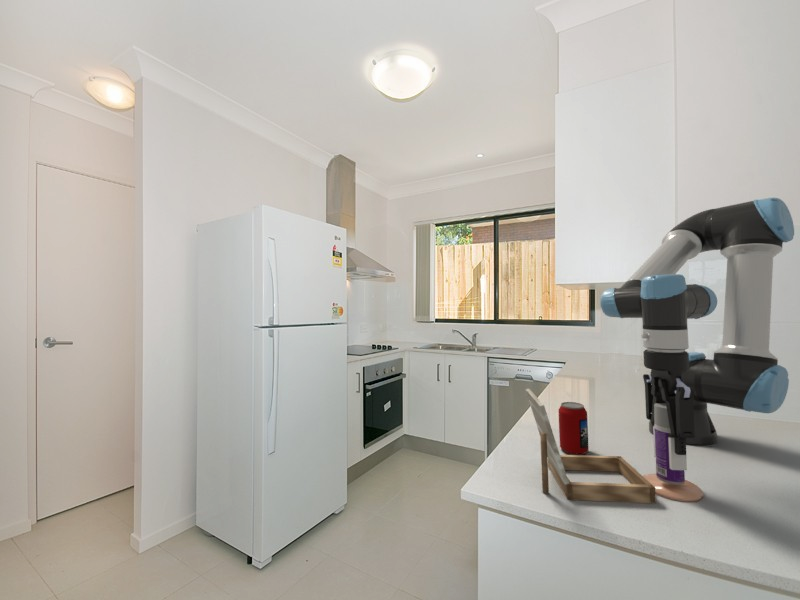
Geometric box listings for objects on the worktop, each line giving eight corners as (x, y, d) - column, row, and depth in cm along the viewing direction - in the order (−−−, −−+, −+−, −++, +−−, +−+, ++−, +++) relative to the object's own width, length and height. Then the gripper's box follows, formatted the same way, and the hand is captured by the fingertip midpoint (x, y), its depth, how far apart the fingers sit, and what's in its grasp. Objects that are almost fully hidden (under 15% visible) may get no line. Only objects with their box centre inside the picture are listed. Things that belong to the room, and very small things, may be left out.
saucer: (682, 477, 78) (682, 474, 78) (716, 502, 68) (715, 499, 68) (632, 475, 79) (632, 473, 79) (658, 500, 69) (658, 497, 69)
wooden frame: (621, 469, 82) (617, 388, 82) (655, 503, 68) (651, 405, 69) (528, 466, 85) (525, 388, 85) (543, 498, 71) (540, 405, 71)
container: (686, 486, 70) (683, 410, 70) (657, 481, 73) (654, 407, 73) (683, 476, 74) (680, 404, 74) (655, 471, 77) (652, 401, 77)
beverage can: (592, 457, 89) (590, 408, 89) (563, 455, 90) (561, 408, 91) (584, 446, 96) (582, 401, 96) (557, 445, 97) (555, 400, 97)
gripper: (624, 345, 83) (628, 445, 83) (671, 356, 66) (676, 484, 65) (660, 344, 82) (664, 446, 82) (717, 355, 65) (722, 485, 64)
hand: (669, 463), depth 74 cm, fingers closed on container, 5 cm apart
